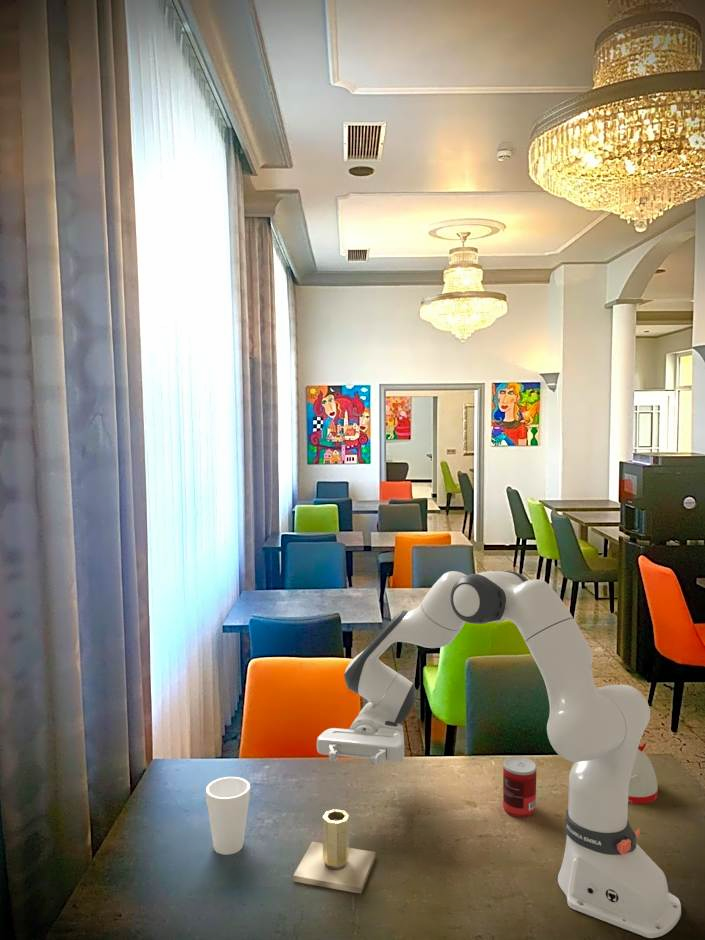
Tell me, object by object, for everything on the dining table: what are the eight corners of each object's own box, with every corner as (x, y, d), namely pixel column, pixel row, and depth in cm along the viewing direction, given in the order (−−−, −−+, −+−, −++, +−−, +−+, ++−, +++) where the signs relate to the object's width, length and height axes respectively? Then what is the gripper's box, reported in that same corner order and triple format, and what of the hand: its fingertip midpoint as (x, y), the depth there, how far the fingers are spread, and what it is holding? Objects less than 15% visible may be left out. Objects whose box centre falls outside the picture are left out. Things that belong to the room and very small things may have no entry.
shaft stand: (375, 857, 148) (375, 809, 148) (361, 893, 137) (361, 842, 136) (312, 846, 152) (312, 800, 151) (293, 881, 140) (293, 830, 140)
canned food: (532, 801, 171) (533, 757, 171) (538, 819, 163) (539, 773, 163) (500, 799, 172) (501, 755, 171) (504, 817, 164) (505, 771, 163)
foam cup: (197, 850, 150) (196, 791, 150) (224, 829, 159) (224, 773, 158) (232, 863, 146) (232, 803, 145) (259, 841, 154) (258, 783, 153)
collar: (350, 853, 146) (351, 811, 146) (344, 868, 141) (344, 824, 141) (327, 849, 147) (327, 808, 147) (320, 863, 143) (320, 820, 142)
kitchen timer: (602, 771, 187) (603, 715, 186) (658, 782, 181) (660, 725, 180) (595, 795, 174) (597, 736, 173) (655, 809, 168) (657, 747, 167)
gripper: (325, 717, 171) (307, 741, 157) (409, 725, 165) (397, 750, 152) (326, 743, 171) (308, 769, 157) (409, 751, 165) (398, 778, 152)
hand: (352, 759), depth 155 cm, fingers open, 8 cm apart
